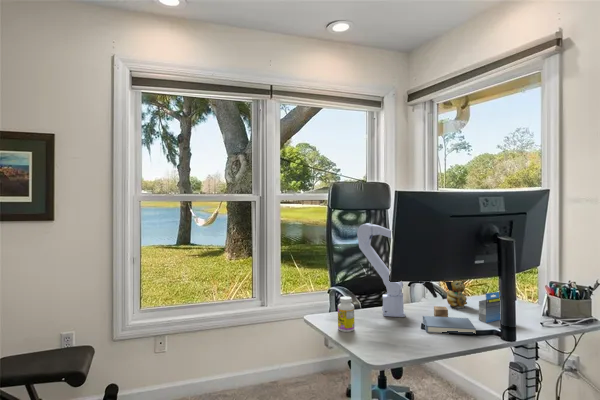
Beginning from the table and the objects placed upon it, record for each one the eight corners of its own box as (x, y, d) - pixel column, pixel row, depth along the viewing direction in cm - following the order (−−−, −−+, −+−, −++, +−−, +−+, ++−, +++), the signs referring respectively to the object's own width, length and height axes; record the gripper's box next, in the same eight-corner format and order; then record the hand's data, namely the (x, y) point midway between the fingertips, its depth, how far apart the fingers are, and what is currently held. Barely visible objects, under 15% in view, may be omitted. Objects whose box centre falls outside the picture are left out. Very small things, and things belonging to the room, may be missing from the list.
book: (426, 332, 144) (426, 325, 144) (422, 322, 157) (422, 315, 157) (475, 335, 140) (475, 328, 140) (468, 324, 153) (468, 318, 153)
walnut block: (435, 321, 157) (435, 309, 158) (434, 317, 162) (433, 306, 162) (448, 321, 156) (447, 309, 156) (446, 318, 161) (445, 306, 161)
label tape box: (493, 317, 161) (492, 289, 161) (501, 320, 157) (500, 291, 157) (478, 320, 157) (477, 291, 157) (486, 323, 153) (486, 293, 153)
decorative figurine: (456, 310, 173) (455, 278, 173) (442, 305, 180) (441, 275, 180) (469, 306, 177) (469, 275, 178) (455, 303, 185) (454, 273, 185)
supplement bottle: (335, 328, 150) (334, 296, 151) (349, 326, 153) (349, 295, 153) (342, 333, 144) (342, 300, 144) (357, 331, 146) (357, 298, 147)
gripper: (419, 270, 157) (433, 300, 155) (448, 257, 159) (462, 287, 157) (412, 270, 164) (425, 299, 162) (441, 258, 166) (454, 287, 164)
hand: (443, 293), depth 160 cm, fingers open, 7 cm apart
